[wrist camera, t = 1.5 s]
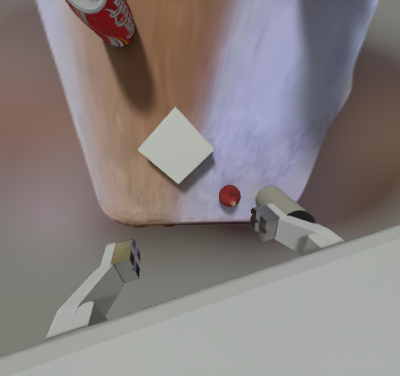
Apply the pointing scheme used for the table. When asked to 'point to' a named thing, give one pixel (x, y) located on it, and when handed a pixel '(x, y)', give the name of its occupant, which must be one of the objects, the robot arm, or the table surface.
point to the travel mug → (283, 203)
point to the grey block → (176, 146)
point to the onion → (229, 195)
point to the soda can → (106, 19)
